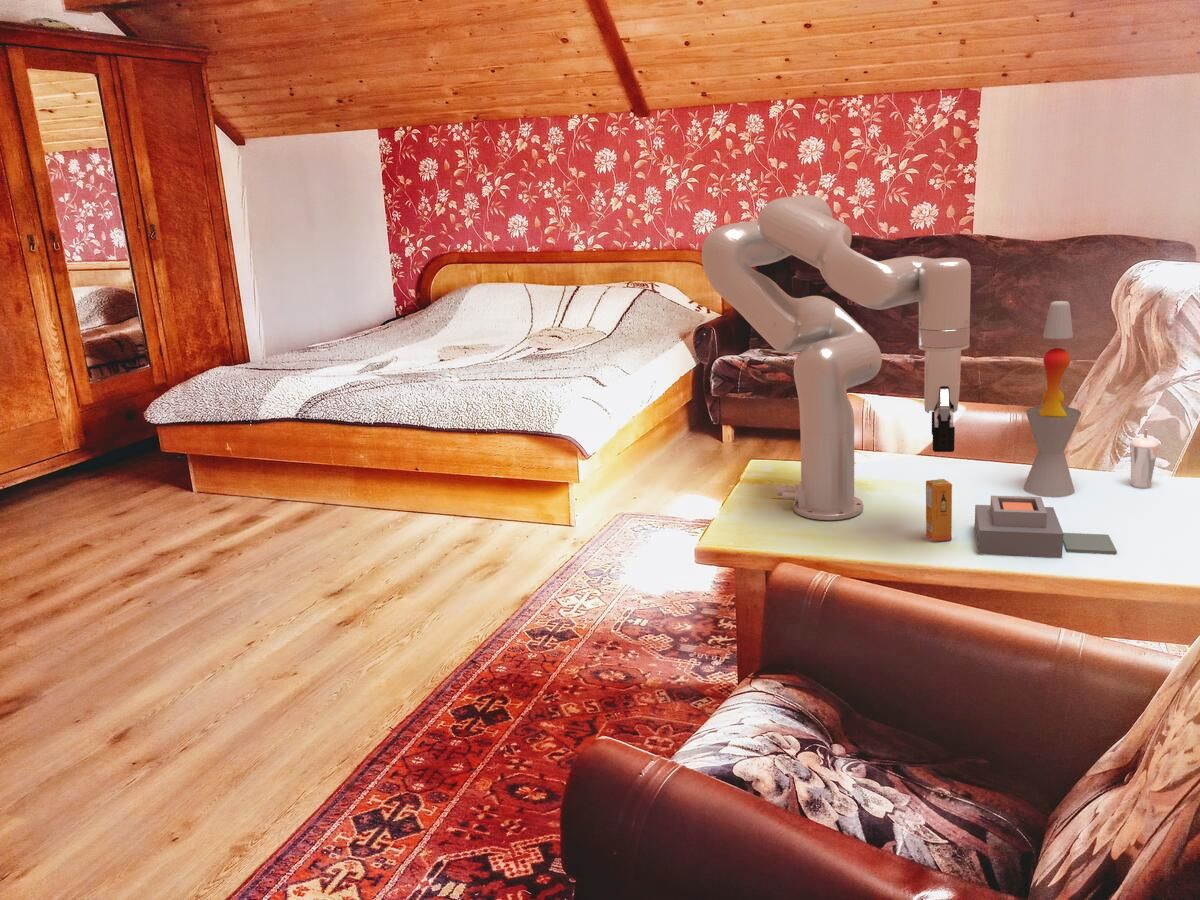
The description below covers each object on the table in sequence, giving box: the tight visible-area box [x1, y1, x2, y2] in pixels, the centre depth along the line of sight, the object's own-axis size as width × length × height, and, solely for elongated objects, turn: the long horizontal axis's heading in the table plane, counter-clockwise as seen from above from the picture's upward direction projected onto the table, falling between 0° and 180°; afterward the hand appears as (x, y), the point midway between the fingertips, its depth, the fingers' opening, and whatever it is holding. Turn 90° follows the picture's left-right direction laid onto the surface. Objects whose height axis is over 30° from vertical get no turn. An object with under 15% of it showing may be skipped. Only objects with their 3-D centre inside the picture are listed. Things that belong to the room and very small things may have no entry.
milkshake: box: [1129, 428, 1160, 489], centre depth 171 cm, size 4×5×10 cm
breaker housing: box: [974, 495, 1064, 559], centre depth 151 cm, size 12×12×6 cm
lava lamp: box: [1023, 300, 1082, 498], centre depth 169 cm, size 9×9×35 cm
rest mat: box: [1063, 532, 1118, 555], centre depth 148 cm, size 7×7×1 cm
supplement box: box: [925, 478, 953, 543], centre depth 154 cm, size 3×3×10 cm
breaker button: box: [1002, 502, 1034, 511], centre depth 150 cm, size 4×4×3 cm
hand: (942, 442), depth 151 cm, fingers open, 9 cm apart
